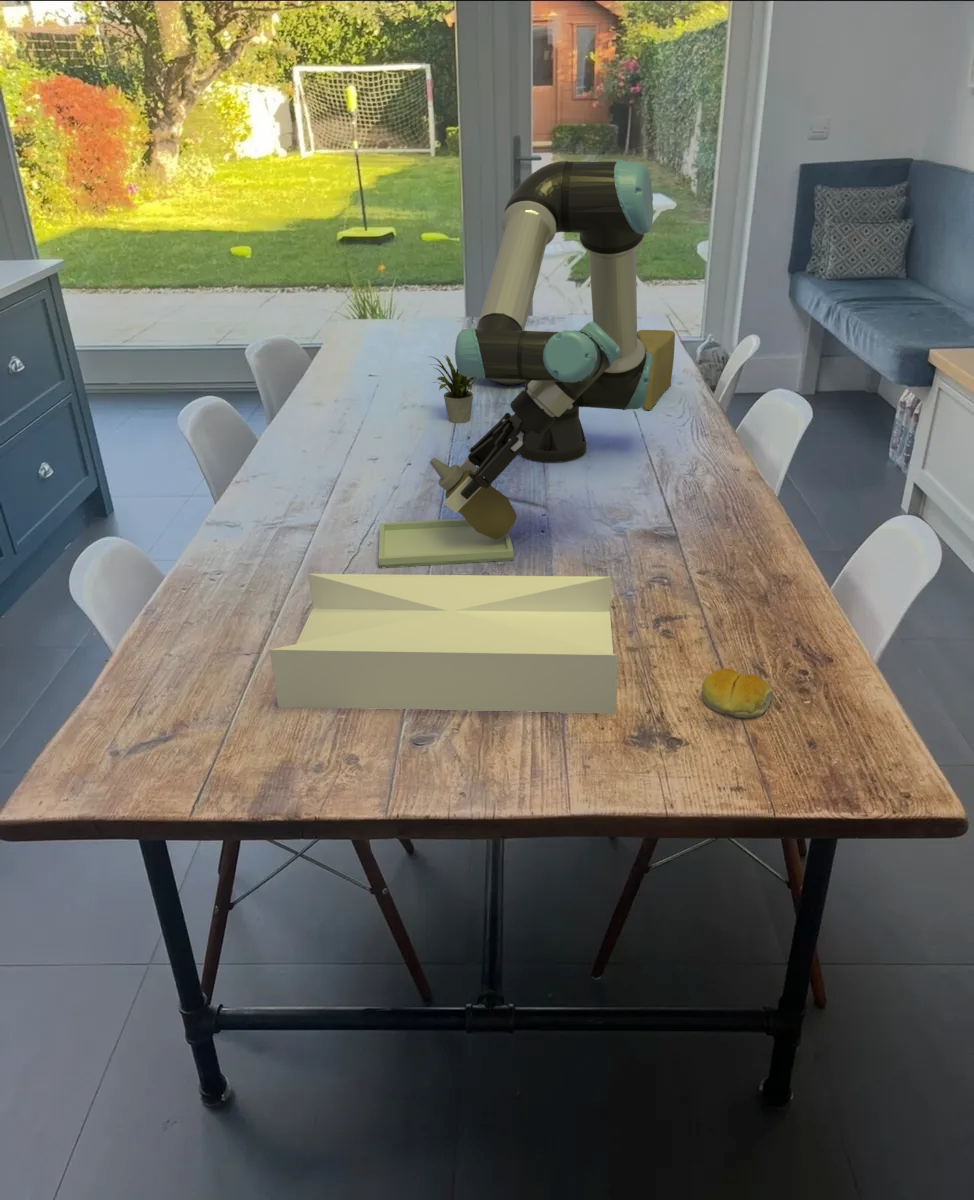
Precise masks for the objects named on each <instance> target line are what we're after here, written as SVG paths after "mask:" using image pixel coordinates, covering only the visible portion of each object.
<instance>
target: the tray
mask: <svg viewBox="0 0 974 1200" xmlns="http://www.w3.org/2000/svg"><path fill="white" fill-rule="evenodd" d="M378 539H379V543H378V566H379V567H392V568H402V567H401V566H410V567H417V566H416V565H427V566H442V565H458V564H459V563H462V564H474V563H473V562H479V563H487V562H486V561H496V562H509V560H515V559H514V549H513V544H512V540H511V535H510V530H509V531H508V532H507V533H506V534H505V535H504V536H502V537H501V538H499V539H493V538H490V537H488V536H486V535H483V534H481V533H479V532H477V531H476V530H475V529H474V528H473V527H472V526H471V525H470V524H469V522H468V521H467V520H466V519H465V518H448V519H435V520H434V519H433V520H416V521H415V520H414V521H413V520H412V521H398V522H397V521H394V522H392V521H391V522H381V523H379V538H378ZM459 565H460V564H459Z"/></svg>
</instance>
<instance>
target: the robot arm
mask: <svg viewBox="0 0 974 1200" xmlns="http://www.w3.org/2000/svg"><path fill="white" fill-rule="evenodd" d="M653 194H654V193H653V185H652V178H651V175H650V172H649V169H648V168H647V166H646V165H645V164H644V163H642V162H640V161H626V160H624V159H619V160H617V161H568V160H566V161H565V160H561V161H556V162H552V163H549V164H547V165H544V166H542V167H539V168H538V169H537V170H536V171H534V172H533V173H531V174H530V175H529V176H527V178H525V179H524V180H523V181H522V182H521V183H520V184H519V185H518V187H517V188H516V189H515V191H513V193H512V194H511V196H510V198H509V199H508V201H507V202H506V206H505V208H504V212H503V215H502V219H501V226H502V231H503V236H502V239H501V243H500V247H499V250H498V254H497V257H496V260H495V264H494V267H493V271H492V273H491V277H490V281H489V283H488V287H487V291H486V294H485V297H484V301H483V303H482V307H481V310H480V311H481V312H480V315H479V318H478V321H477V325H476V328H475V327H470V328H463V329H462V330H461V331H459V333H458V335H457V336H456V341H455V347H454V348H455V349H454V355H455V356H454V358H455V364H456V370H457V369H458V371H459V373H460V374H461V375H463V376H466V377H468V378H472V377H473V378H475V379H482V380H486V379H487V380H490V379H517V380H525V382H524V389H522V390H521V391H520V393H518V394H517V395H516V397H514V399H513V400H512V401H510V404H509V405H510V409H511V410H512V412H513V413H514V414H510V413H509V412H505V414H504V415H503V416H502V417H501V419H500V420H498V421H497V423H496V424H495V425H494V426H493V427H492V428H491V429H490V430H489V431H487V433H485V434H484V435H483V436H482V437H481V438H480V439H479V440H478V441H477V442H476V443H475V444H474V445H473V446H472V447H470V448H469V454H468V456H467V458H466V459H465V460H464V461H462V463H461V464H460V465H458V466H459V467H460V468H461V469H462V470H463V471H467V470H471V471H472V472H474V474H472V473H469V474H468V476H469V477H468V478H467V479H466V480H465V481H464V482H463V483H462V484H461V485H460V486H459V487H458V488H457V489H456V490H455V491H454V492H453V493H452V494H451V495H450V496H449V497H448V498H446V499H445V500H444V501H443V504H444V505H445V506H446V507H447V508H448V509H450V510H451V511H452V512H453V513H455V514H457V513H459V512H458V511H459V510H460V509H461V508H462V507H463V506H464V505H465V504H466V503H467V502H468V501H469V500H470V499H471V498H472V496H473V495H474V494H475V493H476V492H477V491H478V490H479V489H480V488H481V487H482V488H483V487H484V488H485V489H487V488H488V487H489V486H490V485H491V486H492V484H493V483H495V481H496V479H497V478H498V477H499V476H500V475H501V474H502V473H503V472H504V471H505V469H506V468H507V467H508V466H509V465H510V464H511V463H512V462H513V461H514V459H515V458H516V457H517V456H521V457H523V458H524V459H526V460H529V461H534V462H540V463H562V462H568V461H574V460H576V459H579V458H581V457H583V456H584V455H585V454H586V453H587V439H586V436H585V433H584V429H583V426H582V422H581V419H580V408H596V409H609V410H622V411H626V410H639V409H641V408H643V405H644V404H645V399H646V394H647V388H648V382H649V376H650V371H651V365H652V359H653V355H652V354H651V353H648V352H645V348H644V345H643V343H642V342H641V341H640V340H639V339H638V338H637V332H638V308H637V306H638V305H637V303H638V302H637V299H638V297H637V294H638V293H637V247H639V246H640V244H641V243H642V242H643V240H644V238H645V234H648V233H650V231H651V230H652V227H653V221H654V220H653V219H654V204H653V201H654V196H653ZM556 233H557V234H558V233H575V234H576V233H577V234H579V241H580V244H581V246H582V248H584V249H585V250H586V251H588V254H589V255H588V256H589V273H590V274H589V275H590V290H591V308H592V321H589V322H588V323H585V325H584V326H583V327H582V328H581V329H579V330H568V329H566V330H565V329H564V330H562V331H544V330H543V331H541V330H540V331H537V330H536V331H535V330H525V328H526V324H527V320H528V317H529V312H530V310H531V305H532V302H533V298H534V295H535V294H534V293H535V291H536V290H535V289H536V285H537V282H538V278H539V275H540V270H541V268H542V263H543V259H544V255H545V251H546V248H547V245H549V244H550V243H551V242H552V240H554V239H555V235H556Z"/></svg>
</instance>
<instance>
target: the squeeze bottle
mask: <svg viewBox="0 0 974 1200" xmlns="http://www.w3.org/2000/svg"><path fill="white" fill-rule="evenodd" d="M429 463H430V465H431V467H432V468H433V470H434V471H435V472H436V474H437V475H438V476H439V477H440V479H439V480H438V485H439V486H440V487H441V488H442V489H443V490H445V498H446V499H447V498H448V497H449V496H450V495H451V494H452V493H453V492H454V491H455V490H456V489H457V488H458V487H459V486H460V485H461V484H462V483H463V482H464V481H465V480H466V479H467V478H468V477H469V476H468V474H469V473H472V474H474V472H472V471H471V470H467V471H463V470H462V469H461V468H460V467H459V466H460V465H458V464H454V465H451V466H450V465H447V463H446V464H445V463H444V462H442V461H440V460H439V459H438V458H435V457H433V458H432V459H431V460H430V461H429ZM457 513H458V514H459V513H460V515H461V516H462V517H463V519H466V520H467V521H468V522H469V524H470V525H471V526H472V527H473V528H474V529H475V530H476V531H477V532H479V533H481V534H483V535H486V536H488V537H490V538H493V539H499V538H501V537H502V536H504V535H505V534H506V533H507V532H508V531H509V532H510V530H511V529H512V527H513V526H514V525H515V523H516V521H517V519H518V518H517V516H518V515H517V513H516V511H515V510H514V508H513V506H512V504H511V502H510V500H509V498H508V497H507V496H506V495H504V494H503V493H501V492H500V491H499V490H498V489H496V488H495V486H492V484H491V485H490V486H489V487H488V488H487V489H485V488H484V487H483V488H482V487H481V488H480V489H479V490H478V491H477V492H476V493H475V494H474V495H473V496H472V498H471V499H470V500H469V501H468V502H467V503H466V504H465V505H464V506H463V507H462V508H461V509H460V510H459V511H458V512H457Z"/></svg>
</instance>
